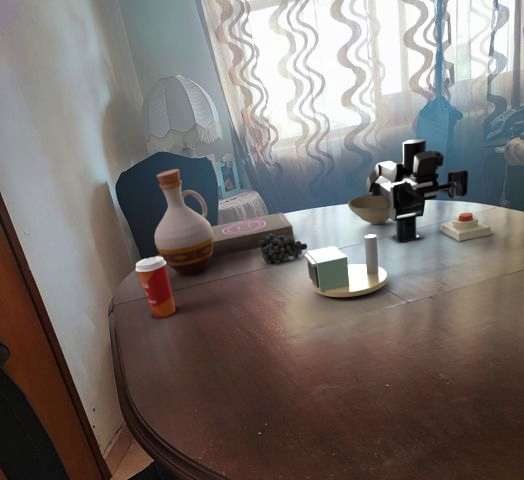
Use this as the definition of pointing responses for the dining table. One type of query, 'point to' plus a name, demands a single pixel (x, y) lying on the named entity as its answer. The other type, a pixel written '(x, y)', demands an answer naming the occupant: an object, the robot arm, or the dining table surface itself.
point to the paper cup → (156, 285)
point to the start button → (465, 217)
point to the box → (466, 229)
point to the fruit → (279, 248)
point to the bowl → (371, 208)
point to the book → (248, 233)
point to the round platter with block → (345, 271)
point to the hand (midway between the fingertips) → (442, 197)
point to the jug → (183, 229)
